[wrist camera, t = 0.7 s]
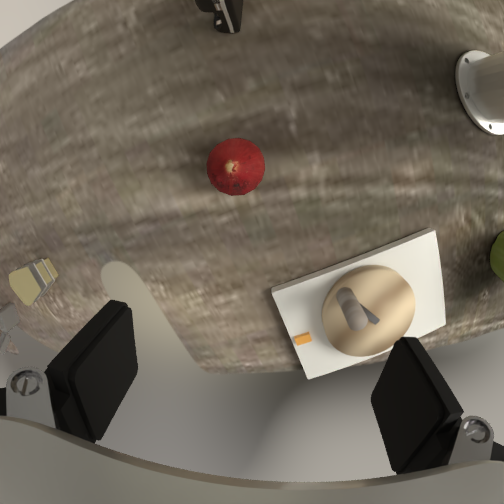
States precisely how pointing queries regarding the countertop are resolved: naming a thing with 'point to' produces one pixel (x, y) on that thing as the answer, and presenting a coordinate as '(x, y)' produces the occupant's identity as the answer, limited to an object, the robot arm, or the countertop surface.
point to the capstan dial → (368, 310)
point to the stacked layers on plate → (33, 280)
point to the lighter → (7, 324)
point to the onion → (235, 166)
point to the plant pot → (498, 256)
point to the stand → (319, 283)
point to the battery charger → (223, 13)
